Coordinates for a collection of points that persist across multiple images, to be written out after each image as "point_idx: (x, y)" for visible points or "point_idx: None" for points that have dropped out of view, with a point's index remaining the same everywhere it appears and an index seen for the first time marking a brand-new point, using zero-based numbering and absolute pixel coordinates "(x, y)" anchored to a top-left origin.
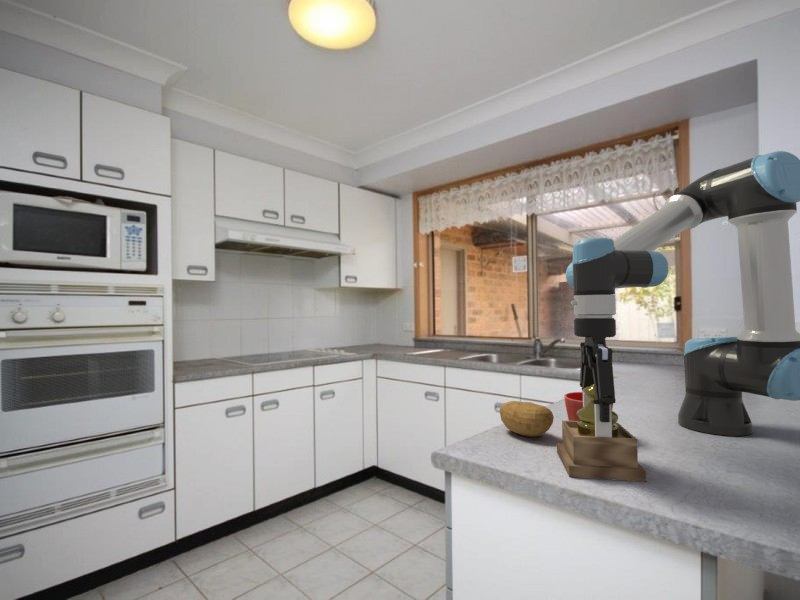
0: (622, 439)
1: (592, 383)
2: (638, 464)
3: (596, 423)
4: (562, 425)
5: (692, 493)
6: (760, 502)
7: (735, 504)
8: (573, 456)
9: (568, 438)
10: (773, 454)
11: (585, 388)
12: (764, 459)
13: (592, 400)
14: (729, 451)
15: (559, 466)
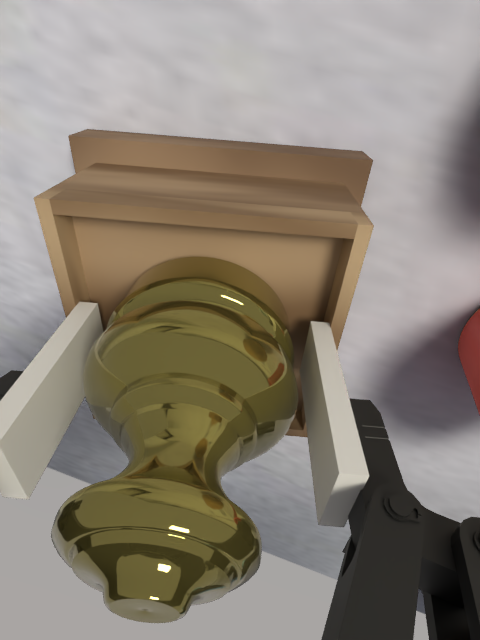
0: None
1: (335, 602)
2: None
3: (44, 348)
4: (355, 214)
5: None
6: (87, 460)
7: None
8: (84, 170)
9: (180, 192)
10: (315, 557)
11: (144, 524)
12: (291, 541)
13: (137, 454)
14: (334, 526)
15: (192, 116)
